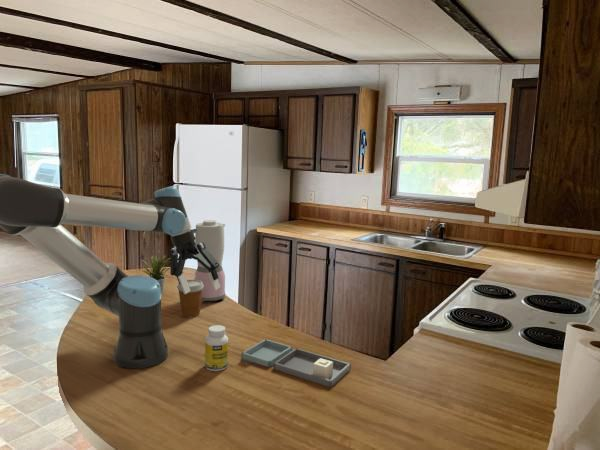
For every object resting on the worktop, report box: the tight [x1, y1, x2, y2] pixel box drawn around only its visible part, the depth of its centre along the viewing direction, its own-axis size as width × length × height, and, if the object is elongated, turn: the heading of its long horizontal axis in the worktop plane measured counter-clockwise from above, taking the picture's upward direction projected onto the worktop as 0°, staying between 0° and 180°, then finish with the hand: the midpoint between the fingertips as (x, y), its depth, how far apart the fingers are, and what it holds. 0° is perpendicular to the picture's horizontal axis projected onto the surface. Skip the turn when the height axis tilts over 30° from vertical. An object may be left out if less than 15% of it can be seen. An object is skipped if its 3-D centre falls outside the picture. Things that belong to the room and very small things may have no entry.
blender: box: [191, 219, 226, 304], centre depth 190 cm, size 16×12×32 cm
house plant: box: [139, 253, 171, 294], centre depth 198 cm, size 14×14×16 cm
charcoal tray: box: [273, 347, 352, 388], centre depth 135 cm, size 12×18×2 cm
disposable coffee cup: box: [176, 279, 204, 318], centre depth 175 cm, size 10×10×12 cm
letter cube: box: [313, 358, 333, 379], centre depth 131 cm, size 4×4×4 cm
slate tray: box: [240, 338, 293, 368], centre depth 143 cm, size 12×10×2 cm
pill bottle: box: [204, 324, 229, 372], centre depth 135 cm, size 6×6×12 cm
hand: (202, 290), depth 162 cm, fingers open, 13 cm apart
